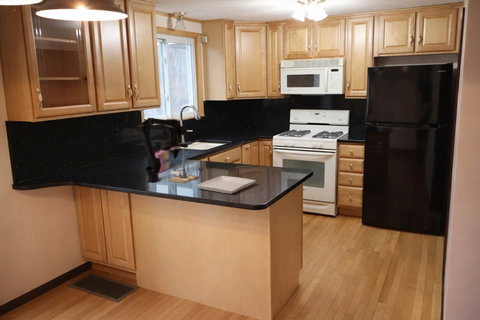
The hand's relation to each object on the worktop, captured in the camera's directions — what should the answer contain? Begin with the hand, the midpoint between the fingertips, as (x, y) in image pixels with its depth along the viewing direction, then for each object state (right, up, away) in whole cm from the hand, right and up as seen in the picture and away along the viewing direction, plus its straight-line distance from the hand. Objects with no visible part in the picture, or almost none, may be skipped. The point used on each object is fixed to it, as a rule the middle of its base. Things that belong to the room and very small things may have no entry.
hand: (175, 158), depth 283 cm
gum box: (-15, -9, +23) cm, 29 cm away
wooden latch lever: (+4, -12, -9) cm, 16 cm away
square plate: (+37, -18, -34) cm, 54 cm away
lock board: (+7, -14, -11) cm, 19 cm away
